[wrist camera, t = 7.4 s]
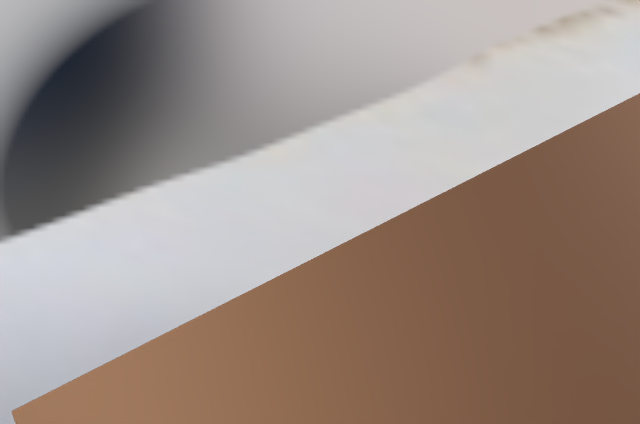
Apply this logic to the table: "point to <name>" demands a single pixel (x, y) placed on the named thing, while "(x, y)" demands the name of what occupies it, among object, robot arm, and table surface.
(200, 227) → the table surface
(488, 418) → the wooden key
